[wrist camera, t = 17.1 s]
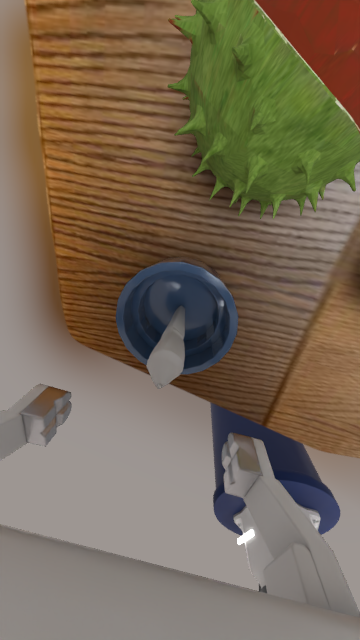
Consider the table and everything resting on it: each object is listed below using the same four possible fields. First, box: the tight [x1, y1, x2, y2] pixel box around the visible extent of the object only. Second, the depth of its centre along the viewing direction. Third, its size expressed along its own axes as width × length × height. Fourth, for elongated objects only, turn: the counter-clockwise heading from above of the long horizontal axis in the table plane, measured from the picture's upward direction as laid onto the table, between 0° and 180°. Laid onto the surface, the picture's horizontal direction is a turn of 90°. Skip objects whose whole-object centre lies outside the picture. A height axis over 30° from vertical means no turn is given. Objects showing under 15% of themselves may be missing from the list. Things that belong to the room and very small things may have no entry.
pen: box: [147, 306, 185, 389], centre depth 17 cm, size 2×3×14 cm
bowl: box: [116, 257, 238, 374], centre depth 22 cm, size 13×13×6 cm
